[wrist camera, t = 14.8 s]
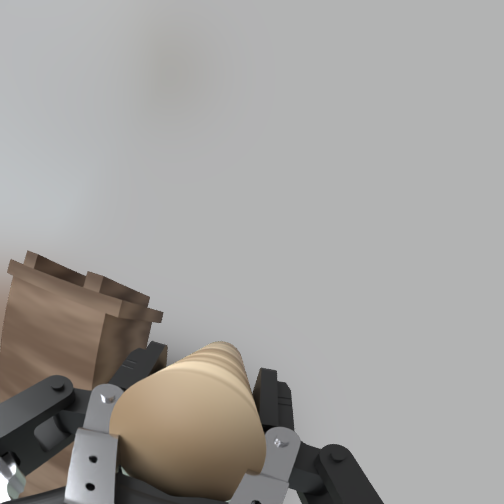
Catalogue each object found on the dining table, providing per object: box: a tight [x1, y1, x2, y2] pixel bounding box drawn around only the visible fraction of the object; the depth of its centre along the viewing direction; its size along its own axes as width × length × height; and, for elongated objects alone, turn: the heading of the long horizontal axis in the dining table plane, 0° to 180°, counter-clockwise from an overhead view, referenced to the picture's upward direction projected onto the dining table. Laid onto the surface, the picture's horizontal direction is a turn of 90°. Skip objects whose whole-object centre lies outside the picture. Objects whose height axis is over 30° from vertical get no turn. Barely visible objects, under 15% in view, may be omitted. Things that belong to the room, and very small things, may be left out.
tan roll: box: [109, 341, 266, 502], centre depth 17 cm, size 22×4×4 cm, turn 3°
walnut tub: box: [0, 251, 163, 498], centre depth 19 cm, size 12×12×31 cm
